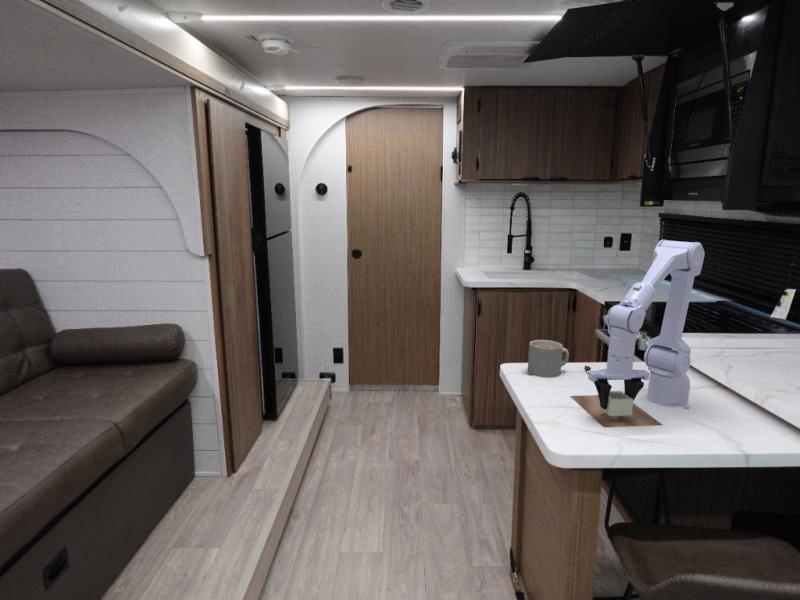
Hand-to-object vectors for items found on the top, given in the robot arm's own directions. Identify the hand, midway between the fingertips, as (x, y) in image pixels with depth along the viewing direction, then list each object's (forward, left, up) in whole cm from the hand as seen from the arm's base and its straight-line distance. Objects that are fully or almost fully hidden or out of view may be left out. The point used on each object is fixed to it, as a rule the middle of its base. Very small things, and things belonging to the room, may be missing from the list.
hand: (615, 407), depth 123 cm
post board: (-2, -5, -4) cm, 7 cm away
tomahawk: (-10, -29, -5) cm, 31 cm away
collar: (0, 0, -1) cm, 1 cm away
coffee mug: (+3, -34, -4) cm, 34 cm away
